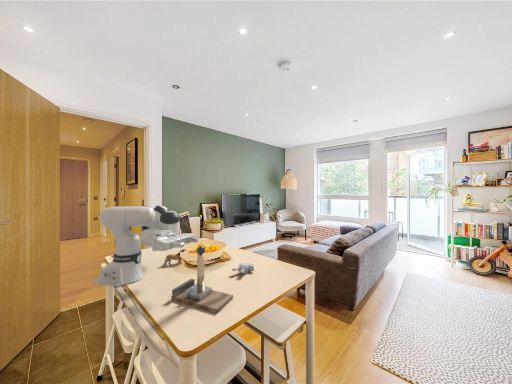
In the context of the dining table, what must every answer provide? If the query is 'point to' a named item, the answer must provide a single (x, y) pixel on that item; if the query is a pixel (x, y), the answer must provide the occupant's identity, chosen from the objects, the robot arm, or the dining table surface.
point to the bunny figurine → (244, 268)
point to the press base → (209, 302)
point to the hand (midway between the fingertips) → (190, 242)
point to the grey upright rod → (199, 279)
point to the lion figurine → (174, 258)
